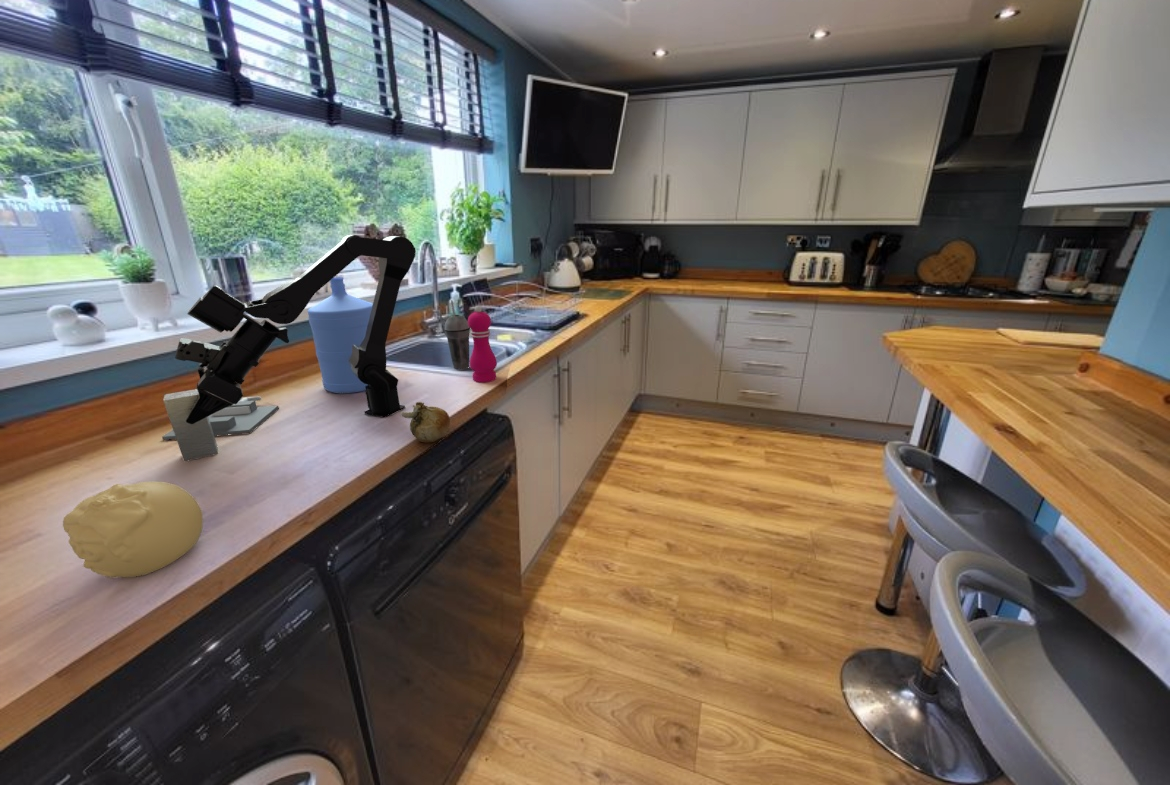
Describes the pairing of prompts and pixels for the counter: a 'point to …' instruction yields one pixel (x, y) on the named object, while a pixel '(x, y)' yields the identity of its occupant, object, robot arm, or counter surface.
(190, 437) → the steel block
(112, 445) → the counter surface
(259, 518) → the counter surface
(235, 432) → the stepped grey baseplate
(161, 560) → the sculpture
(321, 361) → the water jug
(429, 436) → the onion
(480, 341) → the pepper mill
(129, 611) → the counter surface
